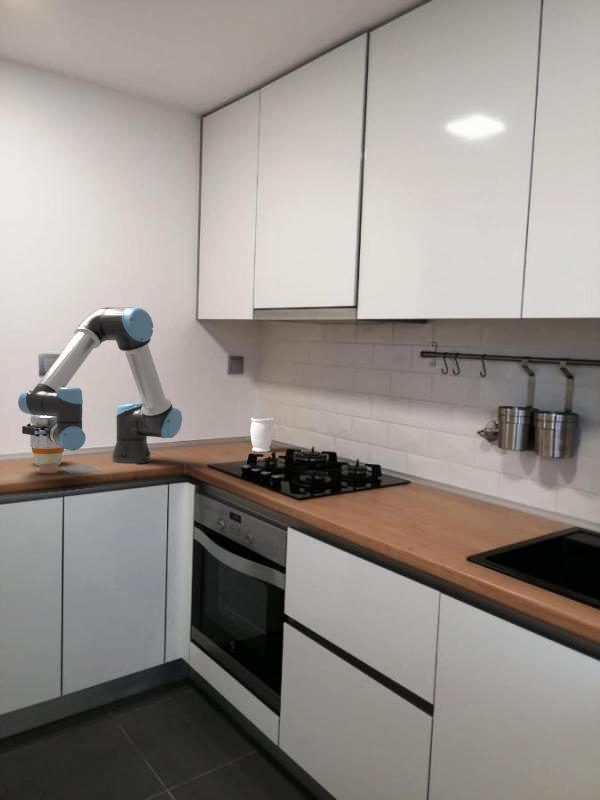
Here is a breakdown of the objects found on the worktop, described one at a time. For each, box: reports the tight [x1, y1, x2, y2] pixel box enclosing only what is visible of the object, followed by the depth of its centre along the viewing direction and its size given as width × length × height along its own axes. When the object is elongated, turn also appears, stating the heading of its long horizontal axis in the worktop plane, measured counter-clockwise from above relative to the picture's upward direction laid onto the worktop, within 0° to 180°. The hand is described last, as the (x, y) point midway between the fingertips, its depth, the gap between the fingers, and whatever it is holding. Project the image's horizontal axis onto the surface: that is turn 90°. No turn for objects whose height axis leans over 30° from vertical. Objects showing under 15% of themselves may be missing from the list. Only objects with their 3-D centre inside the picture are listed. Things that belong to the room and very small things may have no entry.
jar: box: [250, 416, 274, 453], centre depth 288 cm, size 11×10×15 cm
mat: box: [59, 464, 101, 475], centre depth 229 cm, size 11×14×1 cm
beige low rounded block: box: [38, 463, 59, 474], centre depth 223 cm, size 6×6×3 cm
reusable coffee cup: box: [31, 447, 65, 467], centre depth 237 cm, size 12×13×15 cm
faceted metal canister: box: [29, 414, 62, 449], centre depth 222 cm, size 11×11×13 cm
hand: (45, 426), depth 225 cm, fingers closed on faceted metal canister, 11 cm apart
